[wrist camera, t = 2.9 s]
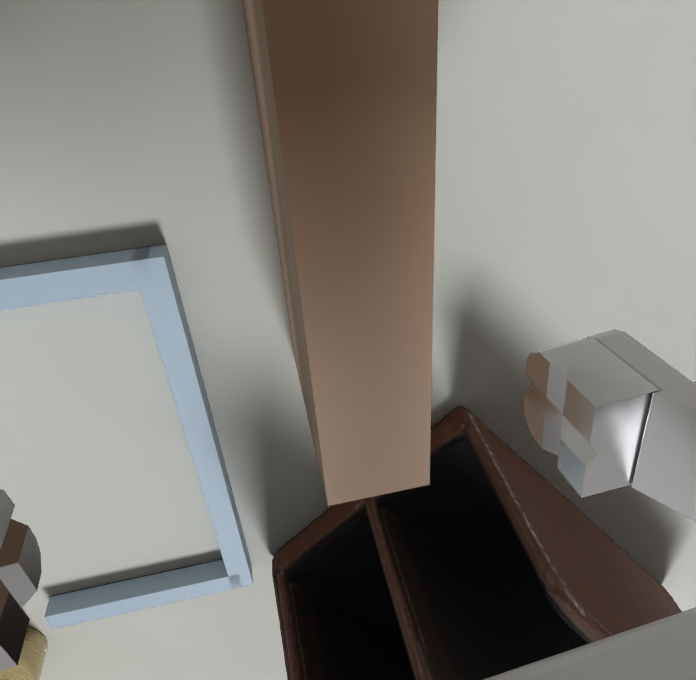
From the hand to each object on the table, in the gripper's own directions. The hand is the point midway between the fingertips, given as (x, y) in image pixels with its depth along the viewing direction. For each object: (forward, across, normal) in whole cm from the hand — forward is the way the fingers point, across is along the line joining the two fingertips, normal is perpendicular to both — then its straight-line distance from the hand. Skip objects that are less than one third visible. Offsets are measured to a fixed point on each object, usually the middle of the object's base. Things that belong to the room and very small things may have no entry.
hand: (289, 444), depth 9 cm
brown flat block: (+8, -2, -1) cm, 8 cm away
